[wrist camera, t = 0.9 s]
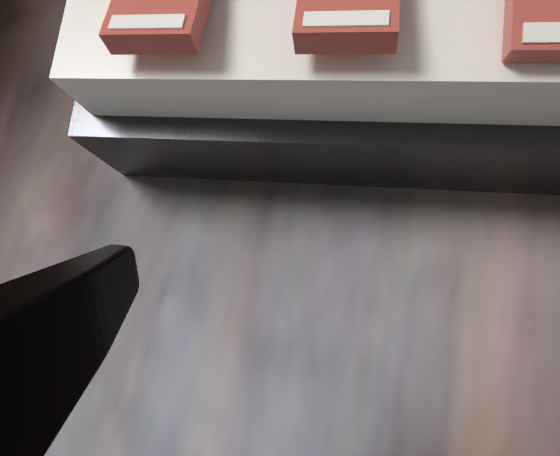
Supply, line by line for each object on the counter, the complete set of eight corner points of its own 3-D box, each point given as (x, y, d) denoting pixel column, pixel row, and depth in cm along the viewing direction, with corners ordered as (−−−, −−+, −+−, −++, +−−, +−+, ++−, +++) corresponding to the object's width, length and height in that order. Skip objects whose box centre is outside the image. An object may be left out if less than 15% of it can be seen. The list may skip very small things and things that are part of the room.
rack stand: (603, 22, 23) (670, -62, 18) (613, 197, 21) (692, 155, 16) (149, 28, 27) (104, -39, 22) (122, 174, 25) (67, 135, 20)
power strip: (643, -39, 18) (704, -118, 15) (657, 128, 16) (728, 79, 13) (120, -22, 22) (81, -81, 19) (92, 115, 20) (45, 75, 17)
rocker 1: (219, -30, 17) (212, -55, 16) (198, 54, 15) (189, 32, 15) (138, -27, 18) (127, -51, 17) (110, 54, 16) (97, 32, 15)
